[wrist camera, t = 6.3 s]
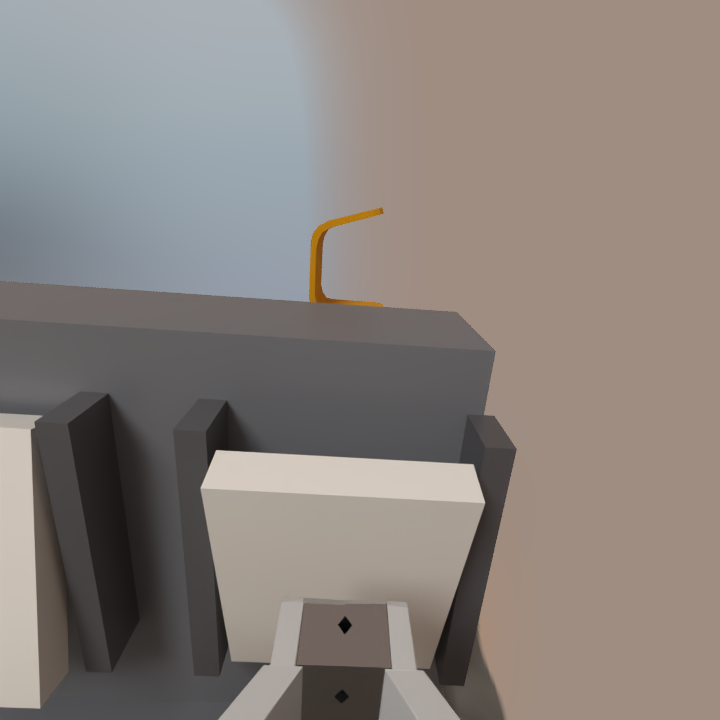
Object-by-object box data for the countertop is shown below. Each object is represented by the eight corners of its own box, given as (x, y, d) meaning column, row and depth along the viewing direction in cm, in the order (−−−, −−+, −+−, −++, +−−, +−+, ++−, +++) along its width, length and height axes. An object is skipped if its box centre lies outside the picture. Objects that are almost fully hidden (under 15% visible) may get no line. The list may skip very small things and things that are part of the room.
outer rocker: (230, 667, 17) (197, 493, 12) (240, 621, 18) (216, 450, 13) (430, 674, 17) (487, 508, 12) (425, 629, 19) (473, 464, 13)
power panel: (-137, 766, 18) (-366, 320, 12) (32, 574, 28) (-41, 270, 21) (455, 783, 19) (552, 377, 13) (421, 591, 29) (466, 304, 22)
